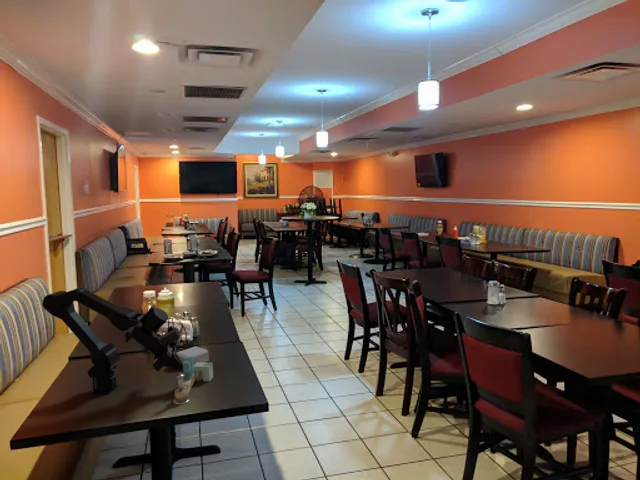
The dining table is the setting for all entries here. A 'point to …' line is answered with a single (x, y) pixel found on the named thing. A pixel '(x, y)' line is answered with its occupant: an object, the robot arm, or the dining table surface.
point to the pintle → (180, 387)
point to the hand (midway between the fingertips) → (184, 368)
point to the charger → (194, 354)
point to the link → (186, 380)
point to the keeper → (204, 370)
